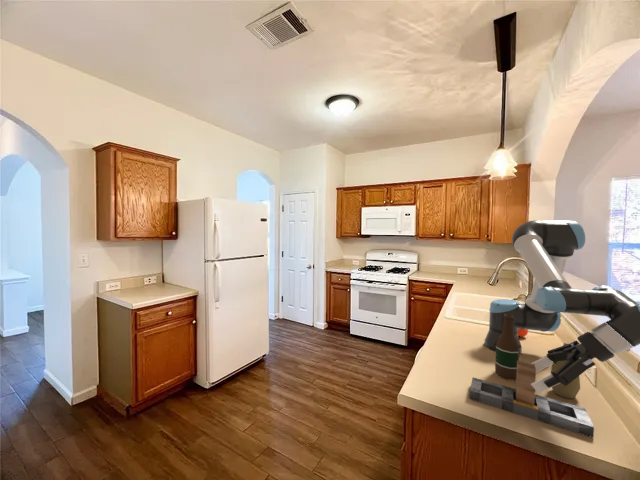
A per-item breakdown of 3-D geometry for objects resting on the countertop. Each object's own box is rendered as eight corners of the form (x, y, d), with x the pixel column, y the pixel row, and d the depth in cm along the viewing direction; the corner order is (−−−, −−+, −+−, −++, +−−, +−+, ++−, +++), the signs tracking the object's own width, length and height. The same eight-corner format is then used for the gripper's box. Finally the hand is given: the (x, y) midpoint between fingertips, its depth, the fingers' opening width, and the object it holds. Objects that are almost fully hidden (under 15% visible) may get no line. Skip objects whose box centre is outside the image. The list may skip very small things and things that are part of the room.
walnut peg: (515, 401, 91) (517, 360, 90) (532, 406, 88) (534, 364, 88) (516, 408, 87) (517, 365, 86) (533, 414, 84) (535, 369, 84)
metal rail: (469, 398, 92) (469, 389, 91) (472, 385, 100) (472, 376, 100) (593, 437, 75) (594, 426, 75) (584, 417, 83) (584, 407, 83)
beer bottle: (511, 382, 102) (514, 319, 101) (490, 372, 109) (492, 313, 108) (522, 377, 106) (525, 316, 105) (501, 368, 113) (503, 311, 112)
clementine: (532, 338, 146) (533, 325, 145) (523, 340, 144) (523, 326, 143) (518, 333, 153) (518, 321, 153) (508, 334, 151) (509, 321, 151)
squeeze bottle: (542, 387, 99) (545, 338, 99) (563, 387, 100) (565, 338, 99) (564, 401, 91) (567, 348, 91) (586, 400, 92) (589, 348, 91)
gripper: (633, 373, 65) (548, 411, 74) (602, 339, 85) (539, 372, 94) (602, 346, 68) (525, 385, 77) (580, 319, 88) (520, 353, 97)
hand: (532, 378), depth 86 cm, fingers open, 13 cm apart
